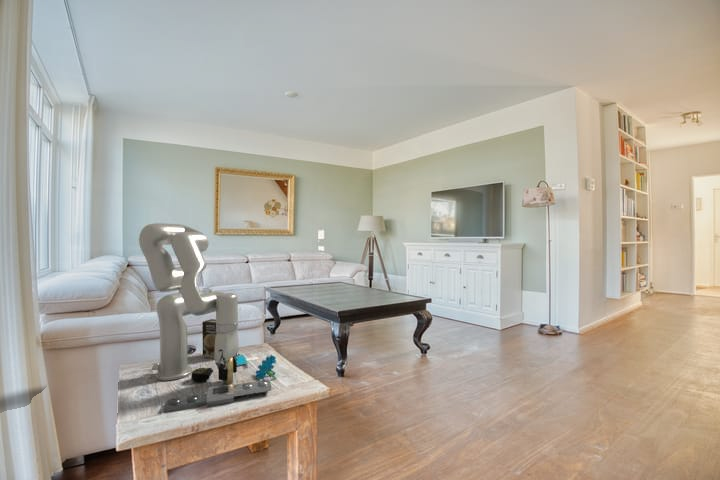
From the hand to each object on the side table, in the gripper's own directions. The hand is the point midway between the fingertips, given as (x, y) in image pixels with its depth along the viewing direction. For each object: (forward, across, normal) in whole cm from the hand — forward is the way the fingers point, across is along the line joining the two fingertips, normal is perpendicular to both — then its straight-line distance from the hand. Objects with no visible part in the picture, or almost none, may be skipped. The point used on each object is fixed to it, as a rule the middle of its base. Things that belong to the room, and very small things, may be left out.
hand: (227, 375), depth 128 cm
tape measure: (+3, -2, -11) cm, 12 cm away
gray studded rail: (+3, +13, +4) cm, 14 cm away
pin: (+3, 0, 0) cm, 3 cm away
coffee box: (+3, -28, -20) cm, 35 cm away
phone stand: (+3, -23, -4) cm, 24 cm away
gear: (+3, -6, +12) cm, 14 cm away
